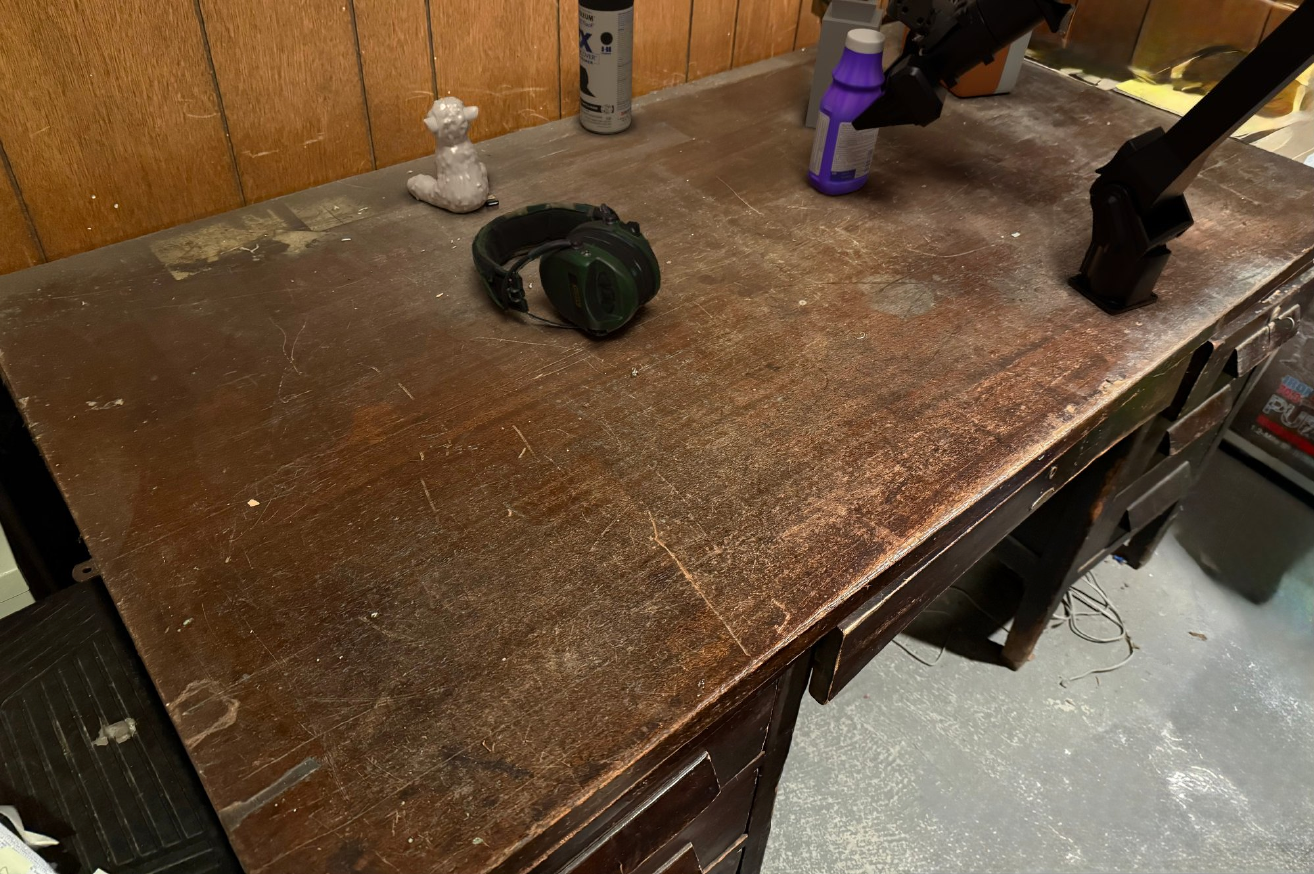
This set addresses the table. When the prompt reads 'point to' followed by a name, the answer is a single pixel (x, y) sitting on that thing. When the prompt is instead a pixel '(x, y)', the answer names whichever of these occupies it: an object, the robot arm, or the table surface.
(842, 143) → the bottle
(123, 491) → the table surface
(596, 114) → the spray can
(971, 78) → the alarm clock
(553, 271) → the headphones
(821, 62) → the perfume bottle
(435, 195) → the sitting furry creature
